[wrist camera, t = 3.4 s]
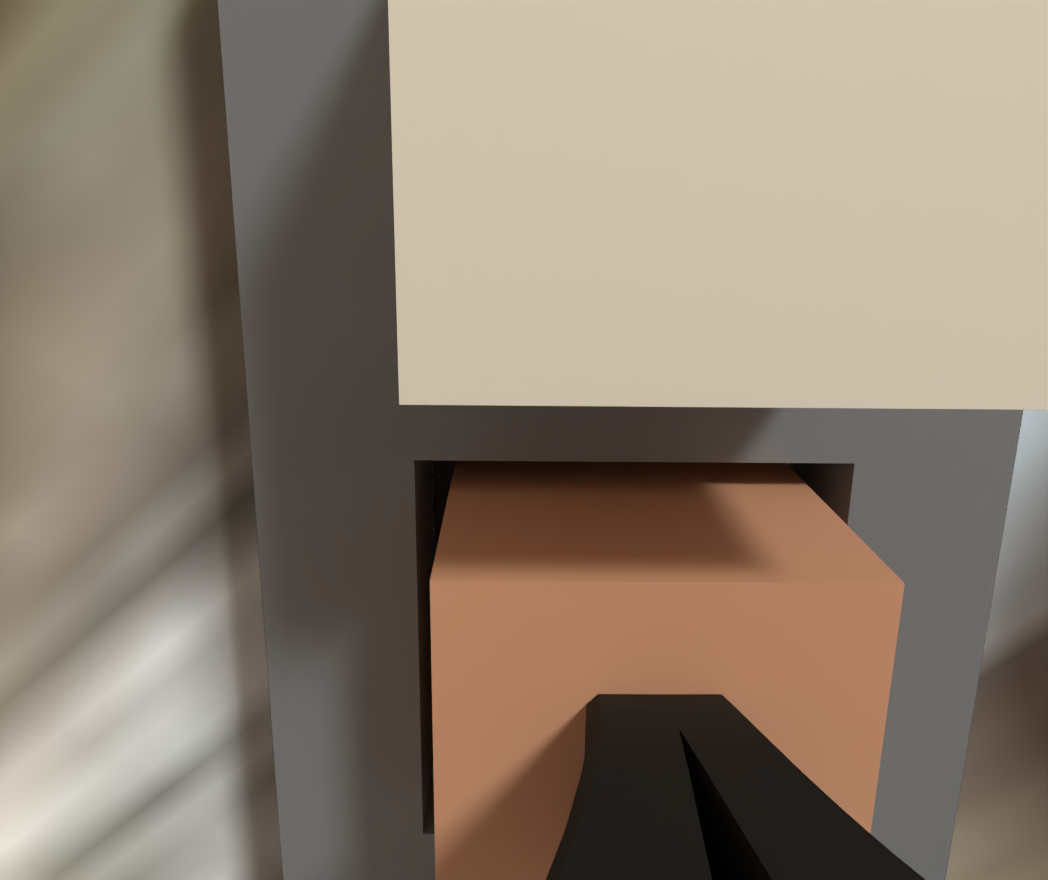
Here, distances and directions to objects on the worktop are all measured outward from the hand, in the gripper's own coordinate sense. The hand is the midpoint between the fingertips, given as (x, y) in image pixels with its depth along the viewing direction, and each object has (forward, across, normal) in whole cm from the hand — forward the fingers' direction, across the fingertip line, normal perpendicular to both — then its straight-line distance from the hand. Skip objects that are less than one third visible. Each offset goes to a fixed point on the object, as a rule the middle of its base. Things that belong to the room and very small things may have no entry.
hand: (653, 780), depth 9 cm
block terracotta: (+4, 0, 0) cm, 4 cm away
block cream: (+2, 0, -7) cm, 7 cm away
